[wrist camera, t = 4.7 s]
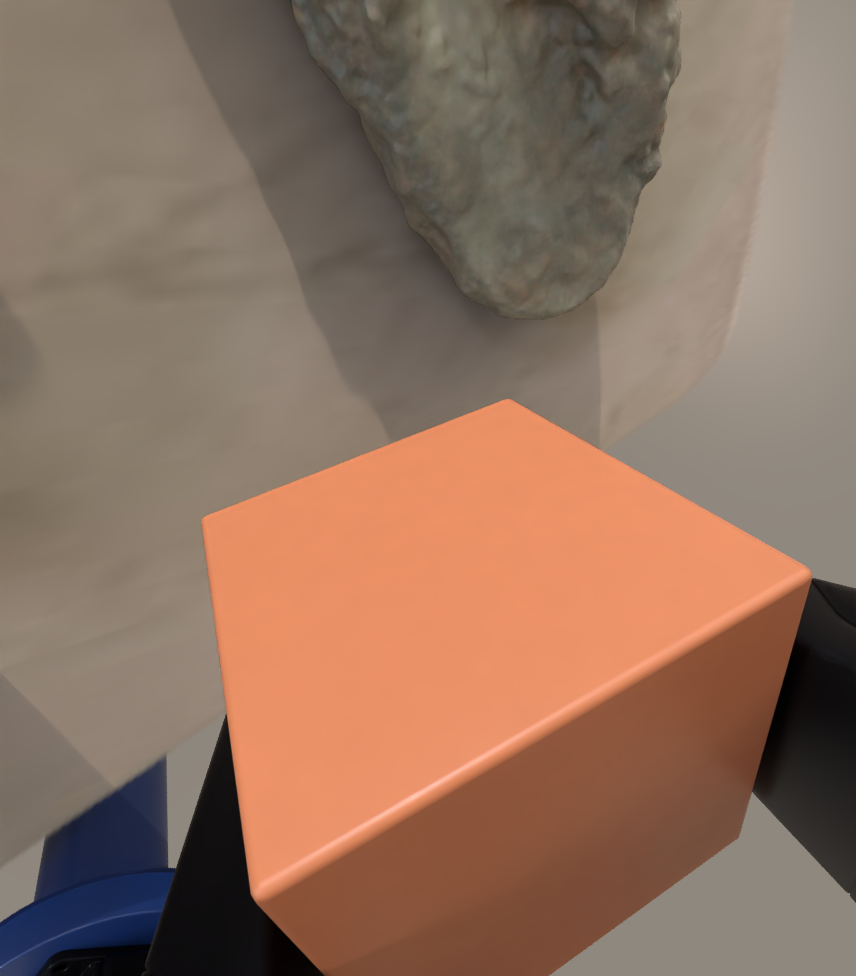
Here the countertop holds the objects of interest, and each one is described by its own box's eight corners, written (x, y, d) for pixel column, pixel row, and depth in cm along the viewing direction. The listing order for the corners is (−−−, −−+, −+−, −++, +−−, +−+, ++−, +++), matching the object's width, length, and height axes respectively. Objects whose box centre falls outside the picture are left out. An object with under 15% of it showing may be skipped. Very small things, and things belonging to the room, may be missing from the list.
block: (534, 610, 11) (742, 837, 7) (310, 724, 10) (413, 1077, 6) (509, 395, 9) (819, 568, 5) (198, 515, 7) (248, 904, 3)
